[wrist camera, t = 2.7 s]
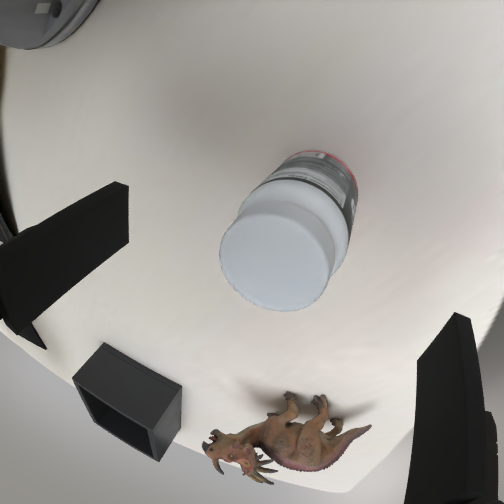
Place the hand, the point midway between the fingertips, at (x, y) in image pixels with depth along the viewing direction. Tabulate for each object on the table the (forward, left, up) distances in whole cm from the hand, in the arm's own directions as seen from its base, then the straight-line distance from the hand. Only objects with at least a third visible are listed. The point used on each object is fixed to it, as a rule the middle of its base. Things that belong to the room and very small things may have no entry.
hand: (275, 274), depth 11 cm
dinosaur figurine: (+21, +6, -8) cm, 23 cm away
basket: (+34, -13, -8) cm, 37 cm away
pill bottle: (0, 0, -8) cm, 8 cm away
